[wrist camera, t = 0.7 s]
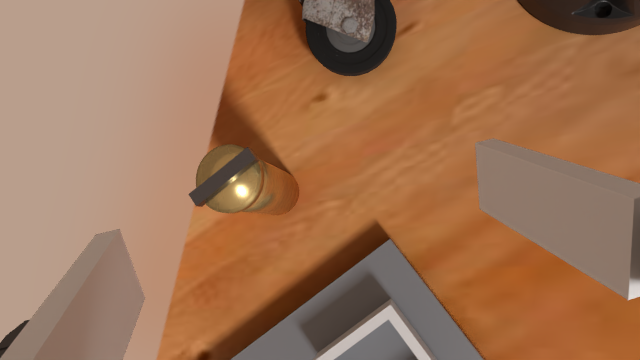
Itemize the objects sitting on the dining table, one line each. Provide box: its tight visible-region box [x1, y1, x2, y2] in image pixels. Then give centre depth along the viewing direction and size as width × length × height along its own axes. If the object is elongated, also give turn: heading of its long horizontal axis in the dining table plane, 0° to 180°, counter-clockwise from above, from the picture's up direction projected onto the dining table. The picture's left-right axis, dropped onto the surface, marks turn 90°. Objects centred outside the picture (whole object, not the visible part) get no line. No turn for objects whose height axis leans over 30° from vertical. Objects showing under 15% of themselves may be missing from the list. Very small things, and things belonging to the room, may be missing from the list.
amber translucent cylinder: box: [189, 144, 299, 215], centre depth 34 cm, size 5×5×13 cm
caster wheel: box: [299, 0, 396, 76], centre depth 38 cm, size 7×11×10 cm
